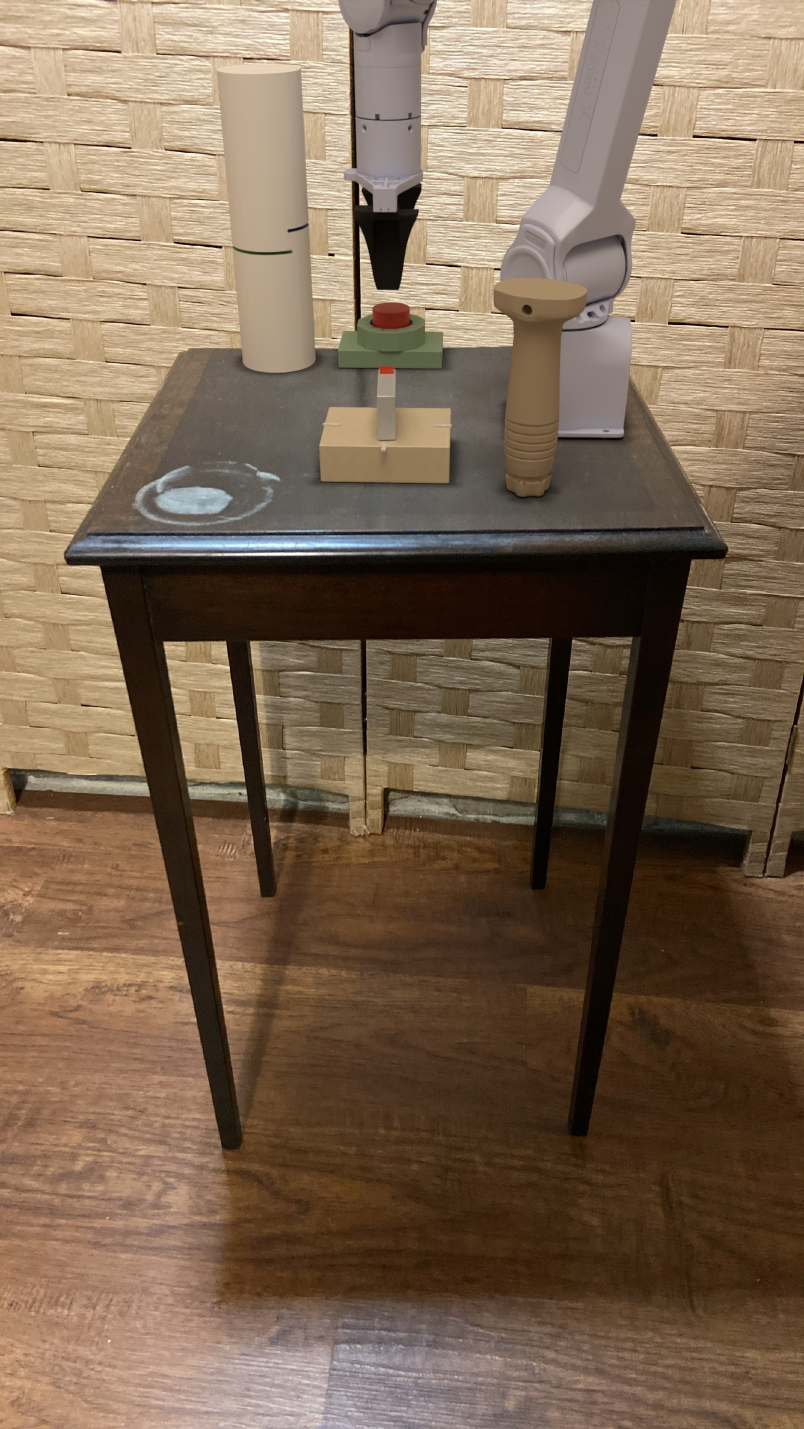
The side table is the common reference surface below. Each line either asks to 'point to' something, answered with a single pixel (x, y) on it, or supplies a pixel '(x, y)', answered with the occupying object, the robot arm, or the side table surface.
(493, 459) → the side table surface
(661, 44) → the robot arm
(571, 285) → the handle
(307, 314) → the cylindrical container
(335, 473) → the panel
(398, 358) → the button block
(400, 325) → the button
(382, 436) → the grey rectangular plate
